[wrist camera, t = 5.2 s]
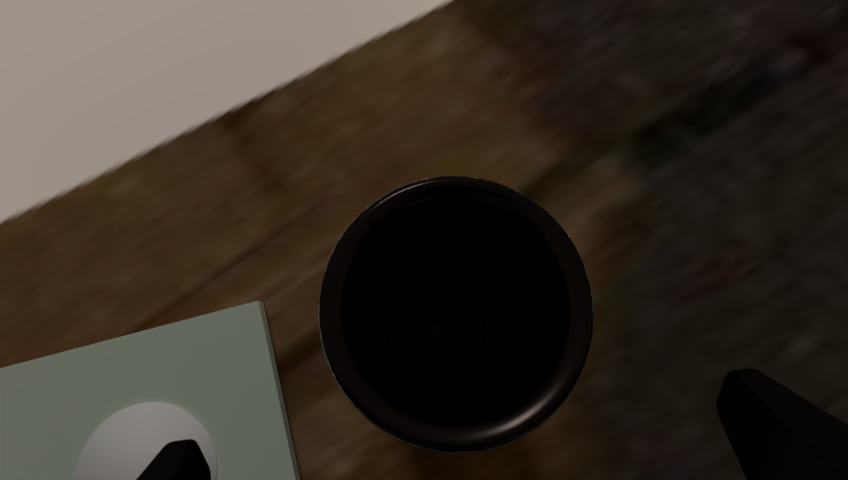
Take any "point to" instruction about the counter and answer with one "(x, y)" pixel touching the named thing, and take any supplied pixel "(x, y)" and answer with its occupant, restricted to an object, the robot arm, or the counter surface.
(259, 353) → the pad
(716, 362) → the counter surface
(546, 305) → the grey cylinder
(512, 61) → the counter surface
